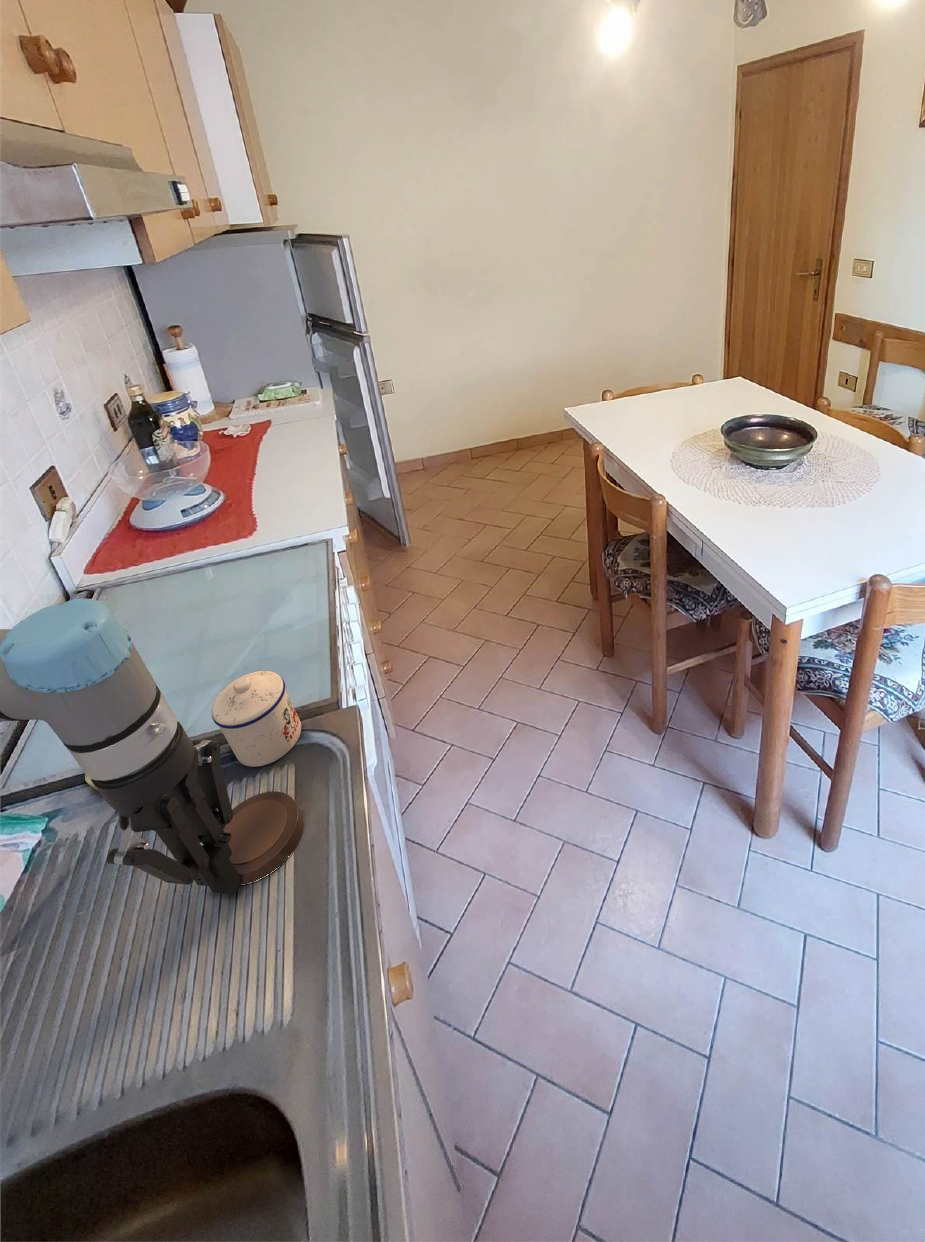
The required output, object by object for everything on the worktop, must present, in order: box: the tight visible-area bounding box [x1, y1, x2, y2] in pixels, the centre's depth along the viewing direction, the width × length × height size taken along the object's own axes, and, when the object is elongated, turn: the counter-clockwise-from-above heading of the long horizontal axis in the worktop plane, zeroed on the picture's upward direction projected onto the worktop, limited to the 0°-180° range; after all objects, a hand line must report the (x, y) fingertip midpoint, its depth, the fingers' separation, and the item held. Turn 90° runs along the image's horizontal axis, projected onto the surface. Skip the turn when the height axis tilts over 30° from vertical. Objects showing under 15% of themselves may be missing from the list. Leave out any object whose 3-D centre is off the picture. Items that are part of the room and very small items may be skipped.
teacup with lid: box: [211, 670, 302, 768], centre depth 85 cm, size 12×9×12 cm
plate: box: [223, 790, 304, 884], centre depth 74 cm, size 10×10×2 cm
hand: (227, 886), depth 69 cm, fingers closed
